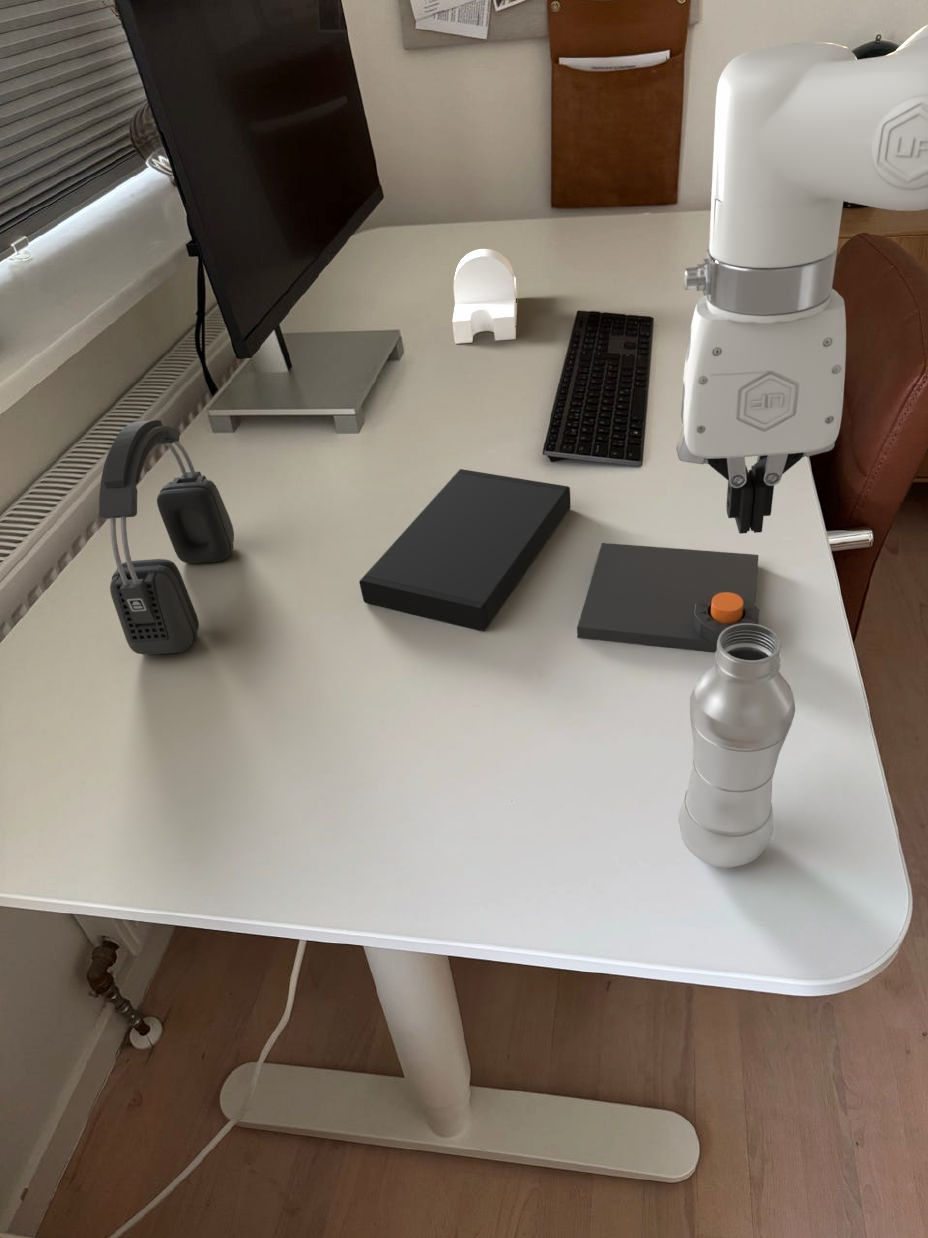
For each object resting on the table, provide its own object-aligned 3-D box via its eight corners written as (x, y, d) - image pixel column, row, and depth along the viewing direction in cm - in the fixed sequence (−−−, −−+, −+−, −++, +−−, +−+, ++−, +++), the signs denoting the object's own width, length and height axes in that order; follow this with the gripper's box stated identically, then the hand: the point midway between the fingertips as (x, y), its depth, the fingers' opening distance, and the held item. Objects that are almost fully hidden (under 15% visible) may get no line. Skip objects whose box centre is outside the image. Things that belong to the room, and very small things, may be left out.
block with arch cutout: (515, 339, 142) (510, 268, 135) (454, 343, 143) (446, 274, 136) (517, 297, 156) (512, 231, 149) (461, 302, 157) (454, 237, 150)
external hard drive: (363, 602, 94) (358, 580, 92) (461, 489, 109) (459, 468, 107) (485, 632, 88) (482, 608, 86) (570, 508, 103) (570, 486, 101)
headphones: (190, 663, 89) (120, 492, 77) (130, 666, 90) (50, 498, 77) (241, 536, 106) (190, 379, 94) (190, 540, 107) (133, 384, 94)
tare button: (742, 606, 83) (744, 593, 82) (741, 625, 81) (742, 612, 80) (711, 603, 84) (712, 590, 83) (709, 622, 82) (710, 609, 81)
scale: (760, 565, 91) (763, 541, 89) (754, 659, 81) (757, 634, 79) (601, 553, 96) (601, 530, 94) (576, 640, 86) (575, 616, 84)
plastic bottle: (661, 823, 68) (672, 625, 56) (740, 797, 70) (769, 597, 57) (703, 892, 64) (725, 692, 51) (787, 862, 65) (830, 659, 52)
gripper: (653, 312, 54) (650, 557, 66) (913, 287, 52) (864, 545, 64) (643, 270, 60) (642, 503, 71) (877, 247, 58) (838, 490, 69)
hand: (747, 522), depth 67 cm, fingers closed
